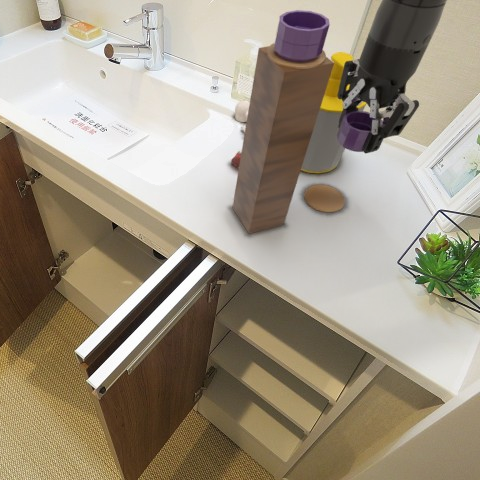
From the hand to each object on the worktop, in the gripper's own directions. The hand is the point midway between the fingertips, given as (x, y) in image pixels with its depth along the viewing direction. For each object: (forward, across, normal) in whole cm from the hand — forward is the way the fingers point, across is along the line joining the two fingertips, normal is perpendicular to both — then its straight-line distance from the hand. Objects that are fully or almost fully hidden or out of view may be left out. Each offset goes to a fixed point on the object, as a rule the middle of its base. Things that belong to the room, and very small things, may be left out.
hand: (356, 139), depth 67 cm
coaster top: (-16, -1, -15) cm, 21 cm away
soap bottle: (+14, -13, +4) cm, 20 cm away
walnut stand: (+14, -1, -15) cm, 20 cm away
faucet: (+16, -23, -2) cm, 28 cm away
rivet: (+15, -22, -5) cm, 27 cm away
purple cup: (+1, 0, 0) cm, 1 cm away
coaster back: (+14, -1, -1) cm, 14 cm away
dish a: (-16, -1, -15) cm, 22 cm away
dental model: (+14, -15, -9) cm, 23 cm away
